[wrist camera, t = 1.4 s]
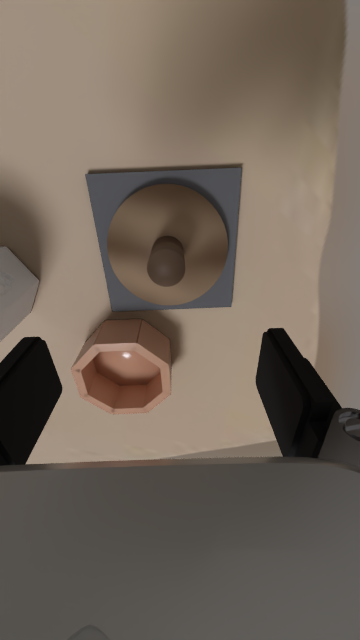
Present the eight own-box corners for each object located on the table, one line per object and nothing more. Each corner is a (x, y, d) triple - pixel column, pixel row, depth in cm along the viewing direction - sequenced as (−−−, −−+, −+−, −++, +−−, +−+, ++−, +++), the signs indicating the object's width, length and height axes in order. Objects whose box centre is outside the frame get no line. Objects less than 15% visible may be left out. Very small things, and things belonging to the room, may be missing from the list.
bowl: (78, 321, 31) (63, 345, 27) (168, 317, 31) (167, 341, 27) (96, 386, 37) (86, 415, 32) (172, 383, 37) (172, 411, 32)
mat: (87, 174, 23) (85, 174, 23) (240, 167, 23) (241, 167, 23) (113, 309, 30) (112, 311, 30) (230, 304, 30) (231, 306, 30)
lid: (98, 186, 23) (76, 191, 18) (229, 180, 23) (245, 183, 18) (119, 303, 29) (107, 332, 24) (223, 299, 29) (233, 327, 24)
